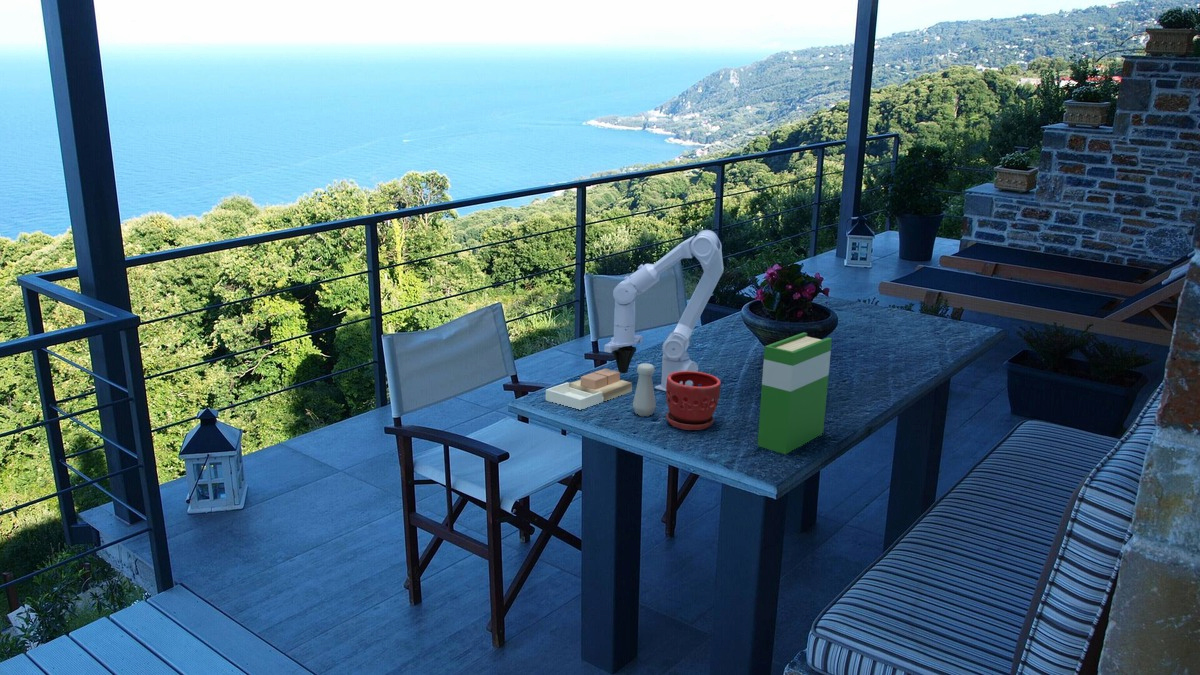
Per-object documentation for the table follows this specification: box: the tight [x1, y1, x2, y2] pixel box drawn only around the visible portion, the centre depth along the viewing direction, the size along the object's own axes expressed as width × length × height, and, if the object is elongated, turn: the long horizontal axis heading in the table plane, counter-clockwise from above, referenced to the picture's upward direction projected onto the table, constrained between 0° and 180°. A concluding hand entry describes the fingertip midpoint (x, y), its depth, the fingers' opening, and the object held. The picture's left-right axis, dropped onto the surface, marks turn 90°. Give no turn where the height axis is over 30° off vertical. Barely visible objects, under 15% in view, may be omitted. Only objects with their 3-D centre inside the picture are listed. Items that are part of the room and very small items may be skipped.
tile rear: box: [593, 368, 621, 385], centre depth 254 cm, size 5×5×2 cm
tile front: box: [580, 372, 607, 390], centre depth 250 cm, size 5×5×2 cm
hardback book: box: [757, 332, 833, 455], centre depth 219 cm, size 18×7×24 cm, turn 139°
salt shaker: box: [632, 362, 657, 417], centre depth 235 cm, size 6×6×13 cm
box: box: [545, 382, 604, 410], centre depth 244 cm, size 12×9×3 cm
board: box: [568, 379, 633, 402], centre depth 252 cm, size 12×12×2 cm
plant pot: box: [665, 371, 722, 431], centre depth 229 cm, size 13×13×12 cm
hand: (622, 372), depth 259 cm, fingers closed
